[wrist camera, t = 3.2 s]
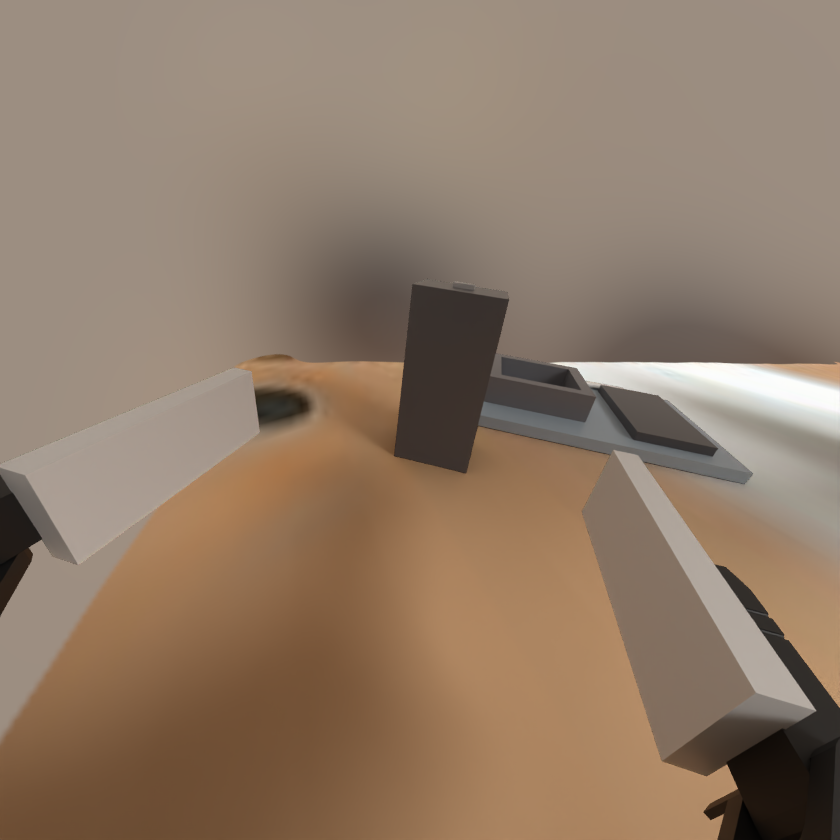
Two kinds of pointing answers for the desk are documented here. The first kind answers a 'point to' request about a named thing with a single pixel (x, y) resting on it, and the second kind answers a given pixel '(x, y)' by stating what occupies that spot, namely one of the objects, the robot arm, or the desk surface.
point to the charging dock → (599, 418)
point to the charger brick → (447, 370)
